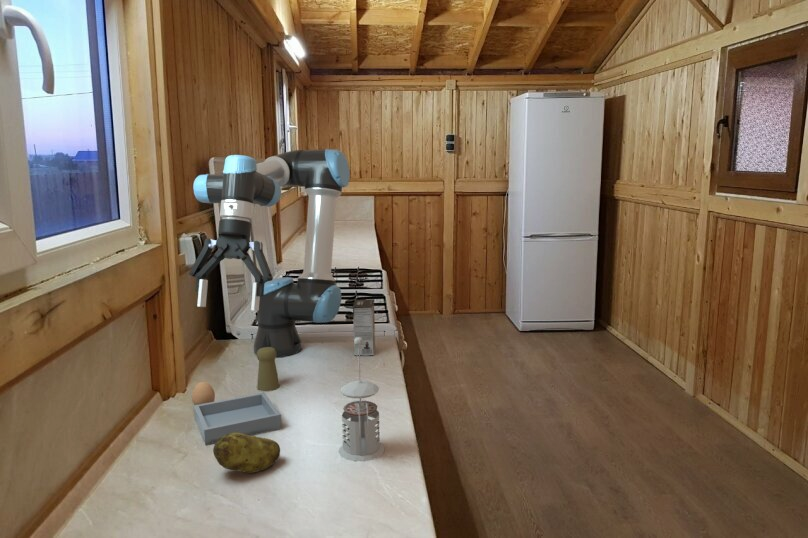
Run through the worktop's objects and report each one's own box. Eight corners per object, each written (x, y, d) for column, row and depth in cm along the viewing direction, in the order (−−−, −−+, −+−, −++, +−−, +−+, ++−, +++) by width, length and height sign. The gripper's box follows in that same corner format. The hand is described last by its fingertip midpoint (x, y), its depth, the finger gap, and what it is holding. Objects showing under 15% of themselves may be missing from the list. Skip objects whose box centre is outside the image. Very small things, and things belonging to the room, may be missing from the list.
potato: (282, 475, 121) (280, 437, 120) (214, 484, 118) (211, 446, 117) (280, 455, 129) (278, 420, 128) (216, 463, 126) (213, 427, 125)
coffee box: (355, 347, 200) (354, 299, 197) (375, 346, 200) (374, 299, 197) (353, 356, 191) (352, 306, 188) (374, 356, 191) (373, 306, 188)
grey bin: (265, 405, 155) (264, 392, 154) (281, 428, 142) (280, 414, 141) (194, 419, 147) (193, 405, 147) (205, 445, 134) (204, 430, 133)
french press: (381, 437, 137) (379, 329, 132) (389, 463, 125) (386, 345, 121) (336, 441, 135) (333, 332, 130) (340, 467, 124) (336, 348, 119)
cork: (282, 383, 170) (280, 344, 168) (275, 391, 164) (273, 352, 162) (261, 382, 170) (259, 344, 168) (253, 390, 164) (251, 351, 162)
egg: (209, 402, 157) (207, 376, 156) (219, 408, 153) (217, 382, 152) (189, 409, 153) (186, 382, 152) (199, 415, 149) (197, 388, 148)
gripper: (179, 215, 146) (171, 304, 145) (279, 219, 142) (271, 311, 140) (195, 220, 154) (187, 305, 152) (290, 224, 149) (283, 312, 148)
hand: (227, 308), depth 146 cm, fingers open, 13 cm apart
